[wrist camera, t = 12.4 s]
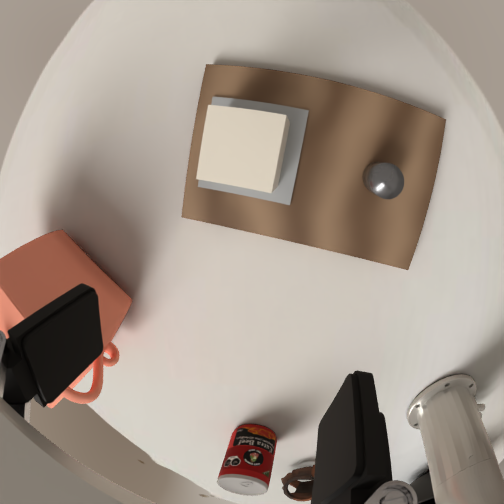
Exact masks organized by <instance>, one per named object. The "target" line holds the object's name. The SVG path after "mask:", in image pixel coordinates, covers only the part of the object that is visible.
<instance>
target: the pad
mask: <svg viewBox="0 0 504 504" xmlns="http://www.w3.org/2000/svg"><path fill="white" fill-rule="evenodd" d="M211 105H217V106H227V107H236V108H244V109H251V110H258V111H265V112H271V113H277V114H283V115H287V117H288V119H289V121H290V126H289V132H288V137H287V142H286V147H285V153H284V158H283V163H282V168H281V173H280V178H279V183H278V187H277V188H276V189H275V190H274V191H273V192H272V193H267V192H262V191H257V190H253V189H247V188H242V187H237V186H232V185H227V184H221V183H216V182H210V181H204V180H199V182H198V187H202V188H208V189H213V190H218V191H224V192H229V193H234V194H239V195H244V196H249V197H254V198H258V199H263V200H268V201H273V202H277V203H282V204H286V205H290V202H291V197H292V193H293V188H294V183H295V178H296V173H297V168H298V164H299V159H300V154H301V149H302V143H303V138H304V133H305V128H306V123H307V117H308V112H309V110H304V109H299V108H294V107H288V106H283V105H277V104H271V103H264V102H257V101H250V100H242V99H233V98H223V97H213V98H212V103H211Z"/></svg>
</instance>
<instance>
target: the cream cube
mask: <svg viewBox="0 0 504 504" xmlns="http://www.w3.org/2000/svg"><path fill="white" fill-rule="evenodd" d="M289 126H290V121H289V119H288V117H287V115H283V114H277V113H271V112H265V111H258V110H251V109H244V108H236V107H227V106H217V105H208V109H207V114H206V120H205V125H204V131H203V137H202V143H201V150H200V156H199V163H198V169H197V176H196V179H198V180H204V181H210V182H216V183H221V184H227V185H232V186H237V187H242V188H247V189H253V190H257V191H262V192H267V193H272V192H273V191H274V190H275V189H276V188H277V187H278V183H279V178H280V173H281V168H282V163H283V158H284V153H285V147H286V142H287V137H288V132H289Z"/></svg>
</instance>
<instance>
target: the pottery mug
mask: <svg viewBox="0 0 504 504" xmlns="http://www.w3.org/2000/svg"><path fill="white" fill-rule="evenodd" d="M314 473H315V465H313V467H311V466H309V467H304V468H300V469H296V470H293V471H292V473H288V474H287V475H286V476H285V477H284V478H281V480H282V483H283V485H284V486H283V487H282V489H283V490H284V494H285V495H286V496H287V497H289V498H290V499H293V500H296V501H309V500H311V498H312V490H313V482H314V480H311V476H312V477H314ZM298 479H308V480H311V481H306V482H301V481H298ZM289 484H290V485H291V486H293V487H295V488H296V491H295V492H294V493H290V492H289V491H288V485H289Z"/></svg>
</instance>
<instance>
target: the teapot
mask: <svg viewBox="0 0 504 504" xmlns="http://www.w3.org/2000/svg"><path fill="white" fill-rule="evenodd" d="M81 283H84V284H86V285H88V286H90V287H92V288H94V289H95V290H96V294H97V295H98V301H99V312H100V322H101V331H102V339H103V351H102V353H101V355H100V356H99V357H98V358H97V359H96V360H95V361H94V362H93V363H92V364H91V365H90V366H88V367H87V368H86V369H85V370H84V371H83V372H82V373H81V374H80V375H79V376H78V377H77V378H76V379H75V380H74V381H73V382H72V383H71V384H70V385H69V386H68V387H67V388H66V389H65V390H64V391H63V392H62V393H61V394H60V395H59V396H58V397H57V398H56V399H55V401H54V402H52V403H48V404H47V406H48V407H49V408H53V407H54V406H55V405H56V404H57V403H58V402H59V401H60V400H61V399H62V398H63V397H65V398H66V399H68V400H70V401H72V402H75V403H82V404H84V403H90V402H92V401H94V400H95V399H97V397H98V396H99V394H100V392H101V389H102V385H103V365H105V366H108V367H109V366H113V365H115V364H116V363H117V362H118V360H119V351H118V349H117V348H116V346H115V345H114V344H113V343H112V342H111V340H112V339H113V337H114V335H115V334H116V332H117V330H118V328H119V326H120V325H121V323H122V321H123V319H124V317H125V315H126V313H127V311H128V309H129V307H130V305H131V302H132V299H131V298H130V297H129V296H128V295H127V294H126V293H125V292H124V291H123V290H122V289H121V288H120V287H119V286H118V285H117V284H116V283H115V282H114V281H113V280H112V279H111V278H109V277H108V276H107V275H106V274H105V273H104V272H103V271H102V270H101V269H100V268H99V267H98V266H97V265H96V264H95V263H94V262H93V261H92V260H91V259H90V258H89V257H88V256H87V255H86V254H85V253H84V252H83V250H82V249H81V248H80V247H79V246H78V245H77V244H76V243H75V242H74V241H73V240H72V239H71V238H70V237H69V236H68V235H67V234H66V233H65V232H64V231H63V230H58V231H54V232H51V233H48V234H45V235H43V236H41V237H39V238H36V239H34V240H32V241H30V242H28V243H27V244H25V245H23V246H21V247H19V248H17V249H16V250H14V251H12V252H11V253H9V254H7V255H6V256H4V257H3V258H1V259H0V330H1V331H3V333H4V334H5V336H6V339H7V338H9V335H8V332H7V331H8V330H9V329H11V328H12V327H14V326H15V325H17V324H18V323H20V322H21V321H22V320H24V319H25V318H27V317H28V316H30V315H31V314H33V313H35V312H36V311H38V310H39V309H41V308H42V307H44V306H45V305H47V304H48V303H50V302H52V301H53V300H55V299H56V298H58V297H59V296H61V295H63V294H64V293H66V292H67V291H69V290H71V289H72V288H74V287H76V286H77V285H79V284H81ZM104 352H106V353H108V354H109V355H110V357H111V359H107V358H106V357H104V356H103V354H104ZM92 368H93V383H92V387H91V389H90V391H89V392H87V393H81V392H77V391H75V390H73V388H74V387H75V386H76V385H77V384H78V383H79V382H80V381H81V380H82V378H83V377H84V376H85V375H86V374H87V373H88V372H89V371H90V370H91V369H92Z"/></svg>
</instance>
